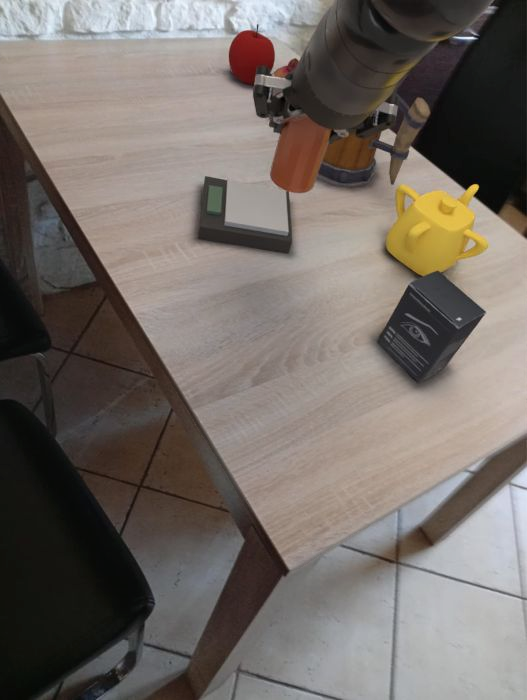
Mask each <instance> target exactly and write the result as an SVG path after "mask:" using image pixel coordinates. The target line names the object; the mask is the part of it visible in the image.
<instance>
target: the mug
mask: <svg viewBox="0 0 527 700" xmlns="http://www.w3.org/2000/svg"><path fill="white" fill-rule="evenodd" d="M397 91H398V89H397V90H396V91H395V92H394V93H393V94H392V95H393V96H397V97H399V103H398V109H399V110H400V111H401V113H402V114H403V120H402V122H401V124H400V127H399V128H398V131H397V133H396V135H395V139H394V142H393V145H392V144H390V143H387V142H385V141H381V140H380V138H381V136H382V132H379V133H377V134H375V135H373V136H370V137H368V138H365V139H359V138H357V137H356V133H349V136H348V137H342V138H341V139H340V140H339V141H334V142H333V143H332V144H328V146H327V149H326V152H325V155H324V158H323V161H322V164H321V167H320V170H319V173H318V176H317V178H316V179H317V180H320V181H322V182H324V183H326V184H329V185H331V186H338V187H342V188H343V187H344V188H350V189H352V188H356V187H361V186H366V185H368V184H369V182H370V181H371V180H372V179H373V177H374V176H375V174H376V172H375V169H374V167H375V166H376V164H377V160H376V158H375V156H376V152H377V149H379V150H381V151H384V152H386V153H388V154H389V156H390V161H389V169H388V170H389V171H388V175H389V182H390V185H391V186H394V185H395V182H396V180H397V178H398V174H399V173H400V170H401V167H402V165H403V163H404V161H406V160H407V159H408V157H409V154H410V148H411V146H412V143H413V142H414V140H415V139H416V137H417V136H418V134H419V132H420V130H422V129H423V127H424V126H425V124H426V123H427V121H428V119H429V117H430V115H431V109H430V106H429V104H428V103H427V102H426V100H425V99H424V98H422V97H416V99H415V100H414V102H413V103H412V105H411V106H409V103H407V102H406V101H405V100H404V99H403V98H402V97H401V96H400V95H399V94H398V92H397ZM392 95H391V96H392Z"/></svg>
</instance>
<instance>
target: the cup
mask: <svg viewBox="0 0 527 700" xmlns="http://www.w3.org/2000/svg"><path fill="white" fill-rule="evenodd" d="M332 131H333V130H332V129H328V128H325V127H322V126H320V125H318V124H316V123H315V122H313V121H312V120H309V119H306V120H303V121H301V122H298V123H295V124H294V123H292V122H289V121H288V122H286V125H285V126H284V128H283V129H282V130H281V132H280V134H279V136H278V138H277V139H278V140H277V142H276V147H275V151H274V155H273V159H272V163H271V166H270V172H269V178H270V180H271V181H272V182H273V184H274V185H276V187H278V188H279V189H283V190H286V191H289V193H293V194H305V193H309V192H310V191H312V190H313V188H314V186H315V184H316V181H317V179H318V178H317V176H318V173H319V170H320V167H321V164H322V161H323V158H324V155H325V152H326V149H327V146H328V143H329V140H330V137H331V134H332Z"/></svg>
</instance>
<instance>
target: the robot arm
mask: <svg viewBox="0 0 527 700" xmlns="http://www.w3.org/2000/svg"><path fill="white" fill-rule="evenodd" d="M494 1H495V0H334V1H333V3H332V4H331V6H329V8H328V9H327V10H326V12H324V14H323V15H322V16H321V18H320V20H319V21H318V23H317V25H316V27H315V29H314V31H313V33H312V35H311V37H310V39H309V41H308V43H307V45H306V47H305V48H304V51H303V53H302V54H301V56H300V58H299V59H298V61H299V62H298V64H297V66H296V69H295V70H294V71H291V72H289V73H288V74H287V75H286V76H285V78H281V77H275V74H273V73H272V72H270V68H269V67H267V66H262V65H260V66H257V70H256V77H255V83H254V84H253V90H252V91H253V92H252V99H253V104H254V109H255V114H256V116H257V117H259V118H261V119H267V118H269V122H268V126H269V128H272V129H273V133H275V134H279V135H280V132H281V130H282V129H283V128H284V126H285V125H286V122H288V121H289V122H292V123H294V124H295V123H298V122H301V121H303V120H306V119H309V120H312V121H313V122H315V123H316V124H318V125H320V126H322V127H325V128H328V129H332V130H333V131H332V134H331V137H330V140H329V143H328V144H332V143H333V142H334V141H339V140H340V139H341V138H342V137H348V136H349V133H356V137H357V138H359V139H365V138H368V137H370V136H373V135H375V134H377V133H379V132H381V133H382V132H384V131H386V130H389V129H391V128H393V127H395V126H396V122H397V121H396V120H397V116H398V115H397V114H398V109H399V108H398V103H399V97H397V96H393V95H392V94H393V93H394V92H395V91H396V90H397V91H398V89H399V88H400V87H401V85H402V84H403V82H404V81H405V79H406V78H407V76H408V75H409V74H410V73H411V72H413V70H414V69H416V68H417V67H418V66H419V65H420V63H422V62H423V61H424V60H425V59H426V58H427V57H428V56H429V55H430V54H431V53H432V51H433V50H434V49H435V48H436V47H437V45H438V44H439V43H440V42H442V41H446V40H449V39H451V38H454V37H456V36H458V35H461V33H463V32H464V31H466V30H467V29H469V27H471V26H472V25H473V24H474V23H475V22H477V21H478V20H479V18H481V17H482V16H483V15H484V13H485V12H486V11H487V10H488V8H490V6H491V5H492V4H493V2H494ZM277 93H280V94H278V95H277V97H275V95H276V94H277ZM391 95H392V96H391Z"/></svg>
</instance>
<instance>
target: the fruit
mask: <svg viewBox="0 0 527 700" xmlns="http://www.w3.org/2000/svg"><path fill="white" fill-rule="evenodd" d="M298 62H299V59H298V58H296V57H294V58H292V59H290V60H289V61H288V63H287V65H283V66H280V67H278V68H276V69H275V70H274V72H273V73H272V74H275V77H281V78H285V76H286V75H287V74H288V73H289V72H291V71H294V70H295V69H296V66H297V64H298ZM278 94H280V93H277V94H276V95H275V97H277V95H278Z"/></svg>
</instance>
